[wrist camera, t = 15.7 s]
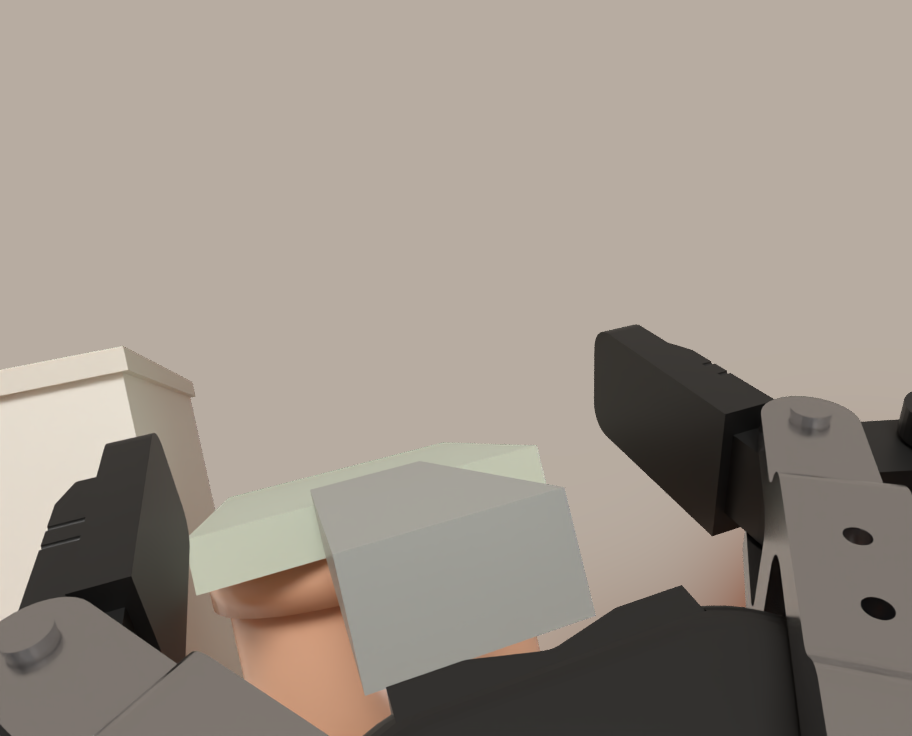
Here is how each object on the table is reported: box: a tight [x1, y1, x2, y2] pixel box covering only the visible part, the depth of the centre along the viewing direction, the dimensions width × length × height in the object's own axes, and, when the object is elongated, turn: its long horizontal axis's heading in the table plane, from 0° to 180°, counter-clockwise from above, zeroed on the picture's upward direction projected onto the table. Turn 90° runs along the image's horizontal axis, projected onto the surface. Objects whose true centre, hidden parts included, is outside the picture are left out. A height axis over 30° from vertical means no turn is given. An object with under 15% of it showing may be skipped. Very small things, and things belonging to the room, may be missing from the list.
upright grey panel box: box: [0, 346, 244, 679], centre depth 34 cm, size 12×19×32 cm, turn 13°
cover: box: [189, 442, 596, 696], centre depth 22 cm, size 11×25×2 cm, turn 14°
